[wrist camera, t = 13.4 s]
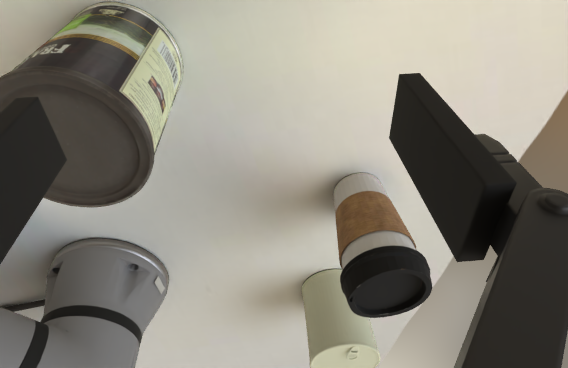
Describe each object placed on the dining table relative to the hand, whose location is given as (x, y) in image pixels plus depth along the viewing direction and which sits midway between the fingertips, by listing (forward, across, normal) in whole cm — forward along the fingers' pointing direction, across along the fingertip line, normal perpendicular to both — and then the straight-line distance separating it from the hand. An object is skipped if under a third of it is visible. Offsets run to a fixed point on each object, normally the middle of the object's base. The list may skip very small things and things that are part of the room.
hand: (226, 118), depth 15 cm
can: (+23, +10, -42) cm, 49 cm away
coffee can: (+23, -11, -6) cm, 26 cm away
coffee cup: (+22, +12, -23) cm, 34 cm away
